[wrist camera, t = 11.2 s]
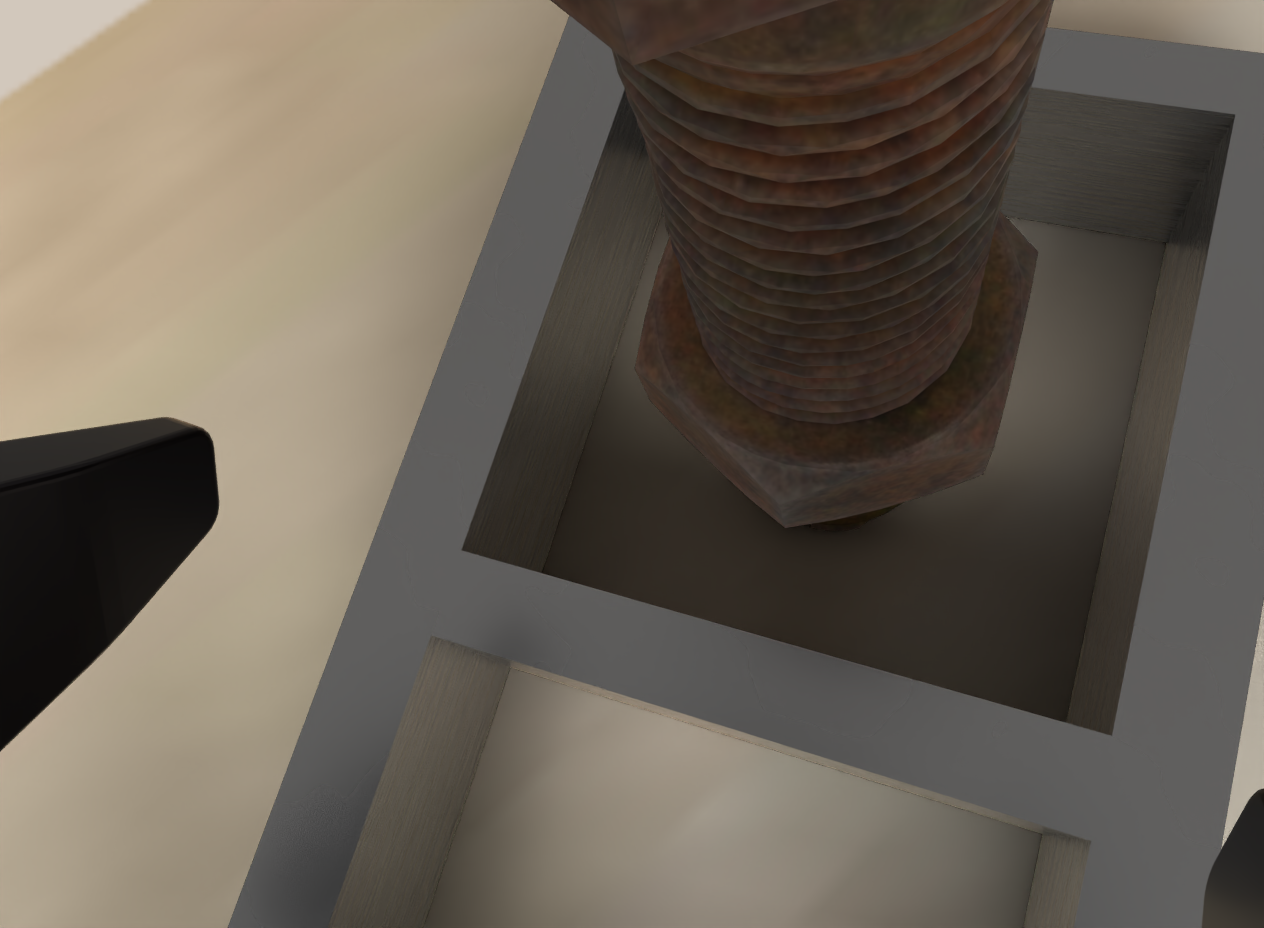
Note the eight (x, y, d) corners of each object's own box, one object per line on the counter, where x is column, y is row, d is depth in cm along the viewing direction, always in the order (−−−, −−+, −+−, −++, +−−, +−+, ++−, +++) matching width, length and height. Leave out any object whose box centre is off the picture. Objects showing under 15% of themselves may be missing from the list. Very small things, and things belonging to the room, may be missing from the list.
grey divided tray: (989, 1661, 13) (1032, 1947, 10) (222, 1263, 16) (58, 1380, 13) (1262, 202, 18) (1355, 63, 14) (629, 105, 21) (586, -28, 17)
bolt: (608, 434, 19) (-131, -719, 5) (816, 235, 19) (726, -1394, 5) (860, 681, 17) (928, -10, 3) (1086, 453, 17) (2218, -1226, 3)
